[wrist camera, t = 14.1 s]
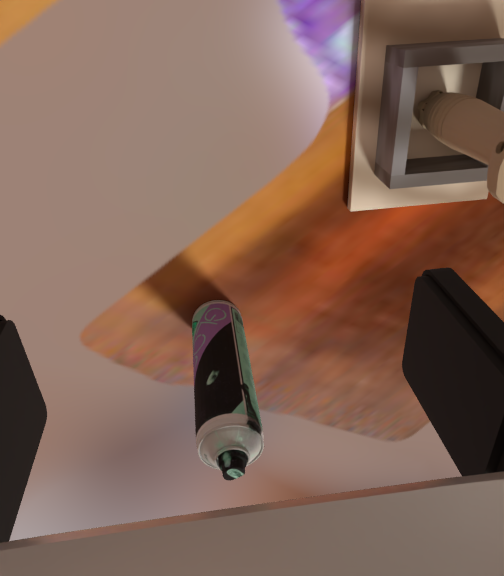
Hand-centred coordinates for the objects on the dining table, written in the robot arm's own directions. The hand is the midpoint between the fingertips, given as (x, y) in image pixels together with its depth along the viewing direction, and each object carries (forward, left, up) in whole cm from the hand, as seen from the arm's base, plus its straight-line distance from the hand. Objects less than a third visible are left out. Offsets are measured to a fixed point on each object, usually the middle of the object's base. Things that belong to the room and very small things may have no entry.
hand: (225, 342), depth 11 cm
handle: (+3, +21, -34) cm, 40 cm away
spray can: (+24, 0, -34) cm, 42 cm away
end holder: (+3, +21, -34) cm, 40 cm away
